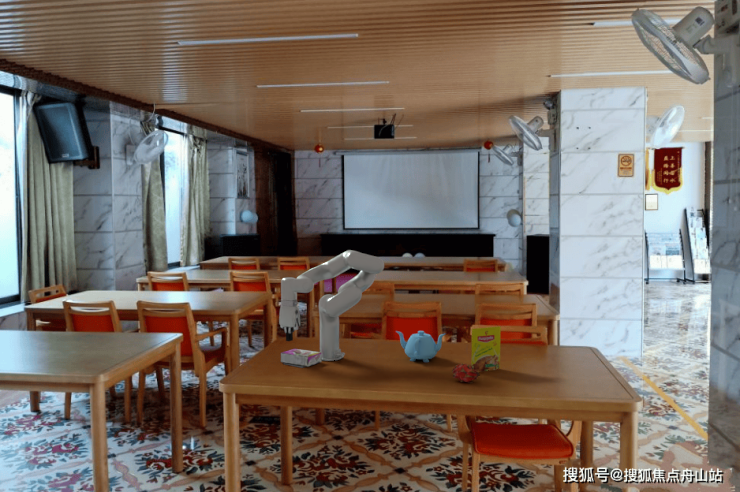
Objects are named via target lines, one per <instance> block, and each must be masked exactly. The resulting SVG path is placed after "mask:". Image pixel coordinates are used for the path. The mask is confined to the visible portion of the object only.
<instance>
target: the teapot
mask: <svg viewBox="0 0 740 492" xmlns="http://www.w3.org/2000/svg"><path fill="white" fill-rule="evenodd" d="M395 333H397V334H398V335H399V341H400V345H401V347H402V349H404V353H405V355H407V357H408V358H410V359H409V361H410V362H416V360H422V361H423V363H429V362H430V360H432V359H433V358H435V357H436V355H437V353H438V352H439V351H440V350H441V348H442V345H443V344H442V342H443V341H442V339H443V337H444V336H445V335H446V333H441V334H439V336H438V338H437V343H436V342H435V340H434V338H433V337H432V335H431V334H429V333H426V332H425V331H424V330H418V331H417V333H412V334H411V335H410V337H409V338H408V340H407V341H406V340H405V338H404V333H403V332H402V331H398V330H395Z"/></svg>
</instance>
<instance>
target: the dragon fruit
mask: <svg viewBox="0 0 740 492" xmlns="http://www.w3.org/2000/svg"><path fill="white" fill-rule="evenodd" d="M451 373H452V378H454V379H458V381H459V382H460V383H463V382H465V383H468V384H473V383H474V381H476V380H478V379H477V378H478V376H479V377H480V376H481V374H480V372H478V371H477V370H474V369H473V367H472V366H471V365H470V364H467V363H458V364H455V366H454V367H453V368H452V370H451Z"/></svg>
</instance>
